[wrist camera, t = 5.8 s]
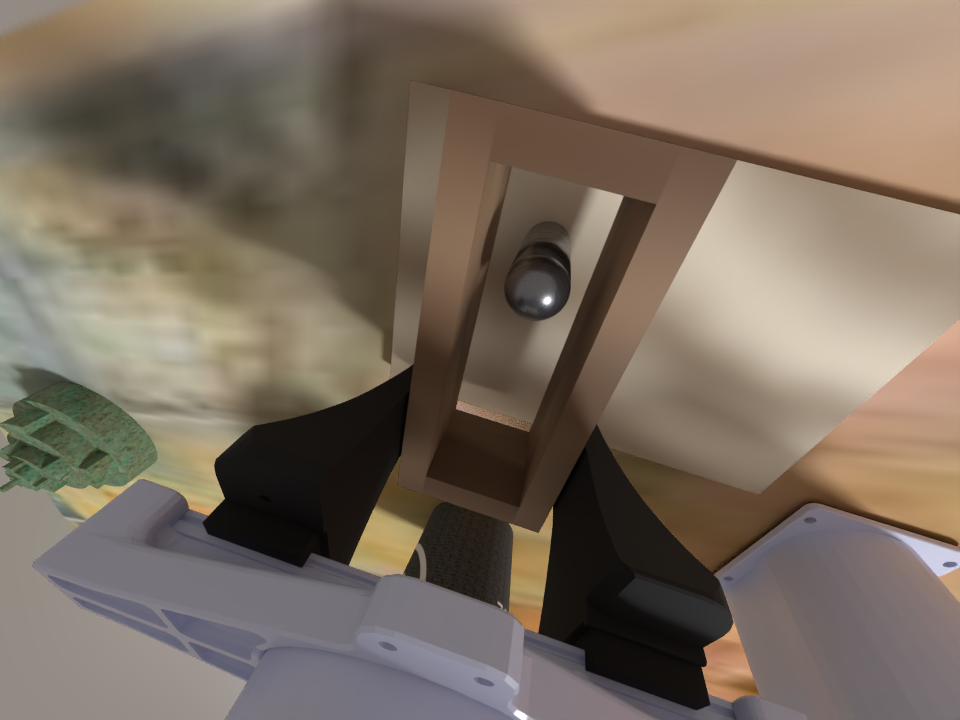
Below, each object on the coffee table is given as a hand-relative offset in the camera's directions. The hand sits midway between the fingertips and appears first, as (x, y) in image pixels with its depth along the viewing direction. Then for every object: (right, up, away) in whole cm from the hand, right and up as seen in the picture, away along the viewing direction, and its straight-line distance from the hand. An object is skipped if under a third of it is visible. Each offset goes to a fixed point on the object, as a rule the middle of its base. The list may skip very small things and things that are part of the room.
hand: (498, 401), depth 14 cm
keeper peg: (+2, +7, 0) cm, 7 cm away
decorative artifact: (-35, -4, +18) cm, 39 cm away
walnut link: (+1, +3, -1) cm, 3 cm away
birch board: (+5, +3, +1) cm, 7 cm away
